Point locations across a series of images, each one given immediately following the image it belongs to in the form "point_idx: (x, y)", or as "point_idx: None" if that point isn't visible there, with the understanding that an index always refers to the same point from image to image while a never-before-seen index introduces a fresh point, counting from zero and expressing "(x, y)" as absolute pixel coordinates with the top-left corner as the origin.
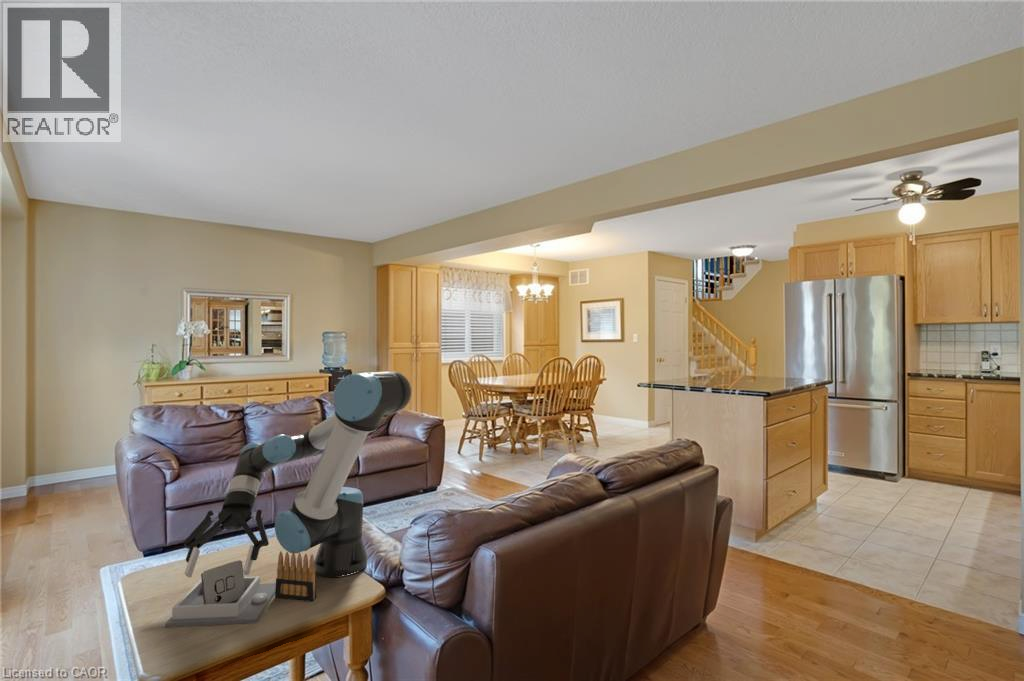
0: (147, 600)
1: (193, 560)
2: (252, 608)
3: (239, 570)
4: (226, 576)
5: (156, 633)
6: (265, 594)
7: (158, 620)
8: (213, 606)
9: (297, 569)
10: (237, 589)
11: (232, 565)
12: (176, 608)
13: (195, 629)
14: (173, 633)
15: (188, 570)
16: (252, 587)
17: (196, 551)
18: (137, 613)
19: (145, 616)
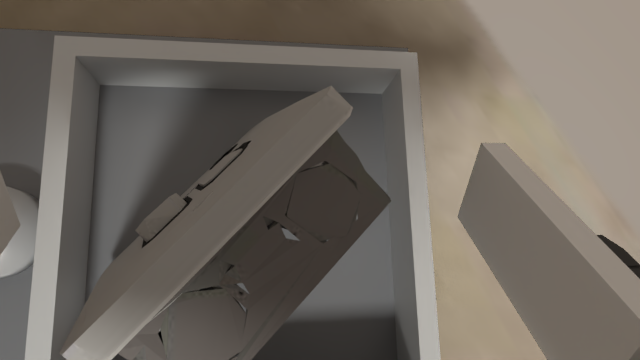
0: None
1: (535, 241)
2: (22, 139)
3: (97, 295)
4: (185, 206)
5: (408, 14)
6: None
7: (460, 114)
8: (203, 44)
9: None
10: (133, 245)
11: (140, 266)
12: (395, 55)
13: (261, 20)
14: (340, 4)
15: (493, 155)
16: (37, 280)
17: (599, 316)
18: (583, 183)
19: (534, 154)
